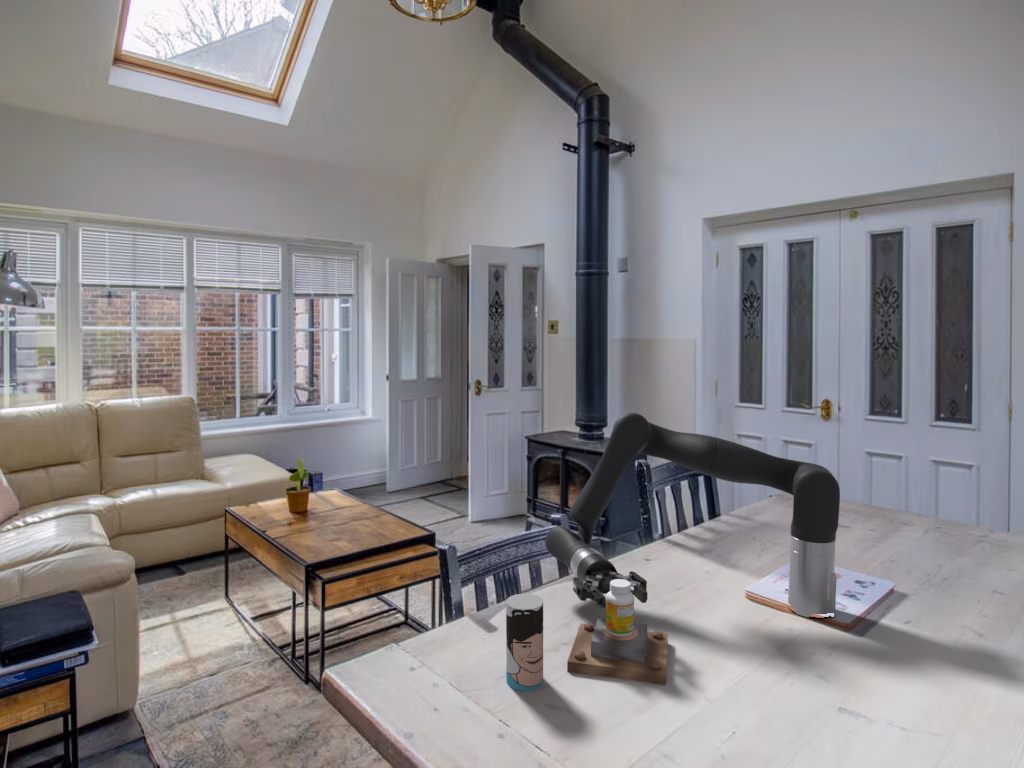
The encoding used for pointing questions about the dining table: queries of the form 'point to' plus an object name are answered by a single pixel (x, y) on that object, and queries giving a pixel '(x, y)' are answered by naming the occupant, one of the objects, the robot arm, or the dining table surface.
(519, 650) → the printed can
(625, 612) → the supplement bottle
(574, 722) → the dining table surface
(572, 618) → the dining table surface
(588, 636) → the plinth
